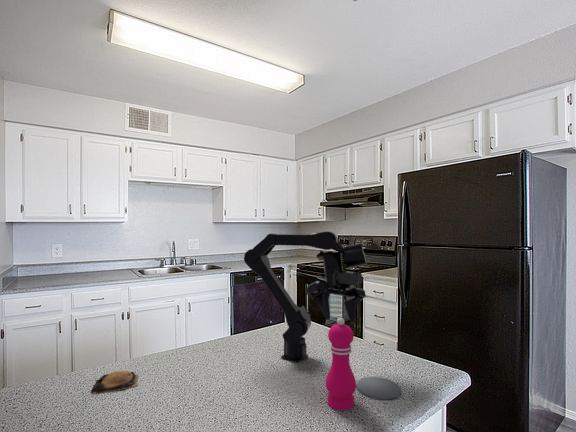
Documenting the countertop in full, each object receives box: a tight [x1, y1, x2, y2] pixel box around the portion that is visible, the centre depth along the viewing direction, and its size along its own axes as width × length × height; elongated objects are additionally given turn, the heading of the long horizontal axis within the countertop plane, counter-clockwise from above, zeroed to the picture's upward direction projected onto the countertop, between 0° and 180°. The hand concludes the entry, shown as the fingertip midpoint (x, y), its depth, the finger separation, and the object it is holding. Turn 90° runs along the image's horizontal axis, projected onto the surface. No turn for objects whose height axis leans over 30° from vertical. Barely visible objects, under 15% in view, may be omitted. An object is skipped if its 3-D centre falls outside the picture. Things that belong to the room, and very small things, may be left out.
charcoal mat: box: [356, 376, 401, 401], centre depth 84 cm, size 11×11×1 cm
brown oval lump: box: [91, 370, 139, 395], centre depth 86 cm, size 11×8×4 cm
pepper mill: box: [324, 317, 357, 411], centre depth 77 cm, size 7×7×20 cm
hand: (340, 321), depth 93 cm, fingers open, 9 cm apart
